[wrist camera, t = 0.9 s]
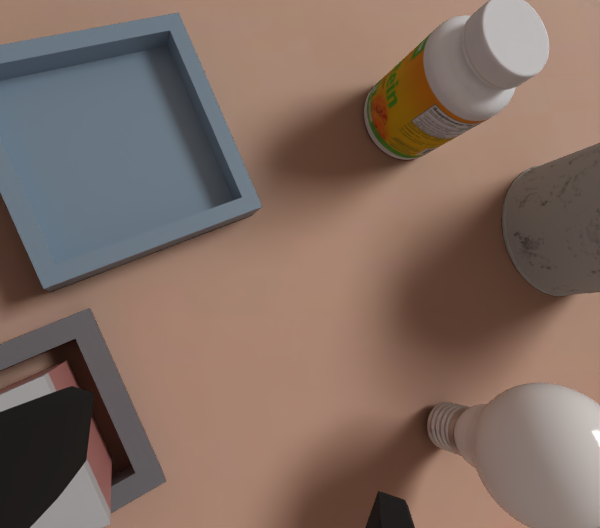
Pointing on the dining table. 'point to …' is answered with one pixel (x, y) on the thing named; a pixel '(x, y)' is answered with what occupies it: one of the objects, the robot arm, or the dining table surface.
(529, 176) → the speckled stone cylinder
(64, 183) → the parts tray
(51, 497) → the robot arm
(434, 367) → the dining table surface
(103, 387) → the grey rectangular frame
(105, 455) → the red and grey block
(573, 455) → the lightbulb
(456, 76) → the supplement bottle
